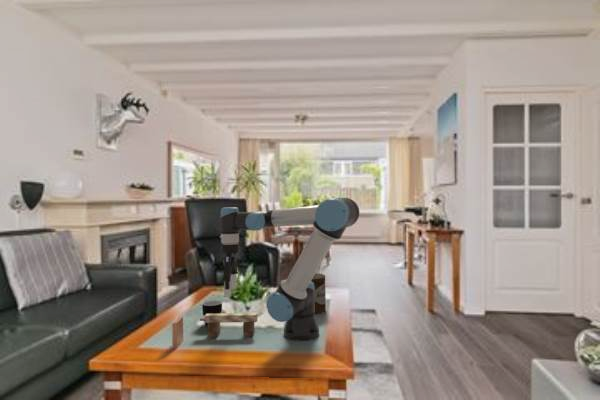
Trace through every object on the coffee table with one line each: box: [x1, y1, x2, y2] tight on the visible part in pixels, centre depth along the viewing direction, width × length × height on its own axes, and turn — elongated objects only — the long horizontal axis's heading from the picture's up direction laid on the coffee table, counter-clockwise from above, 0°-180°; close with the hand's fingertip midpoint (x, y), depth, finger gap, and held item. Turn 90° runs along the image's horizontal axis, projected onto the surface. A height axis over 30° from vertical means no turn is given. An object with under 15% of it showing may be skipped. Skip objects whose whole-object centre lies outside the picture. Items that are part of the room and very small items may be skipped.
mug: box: [201, 299, 223, 327], centre depth 189 cm, size 12×9×10 cm
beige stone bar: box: [199, 312, 258, 324], centre depth 173 cm, size 24×5×3 cm, turn 90°
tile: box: [171, 316, 184, 349], centre depth 163 cm, size 2×8×10 cm, turn 0°
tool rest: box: [207, 322, 256, 339], centre depth 173 cm, size 19×6×6 cm, turn 90°
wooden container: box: [311, 272, 327, 316], centre depth 208 cm, size 15×15×22 cm
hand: (230, 292), depth 173 cm, fingers open, 13 cm apart
